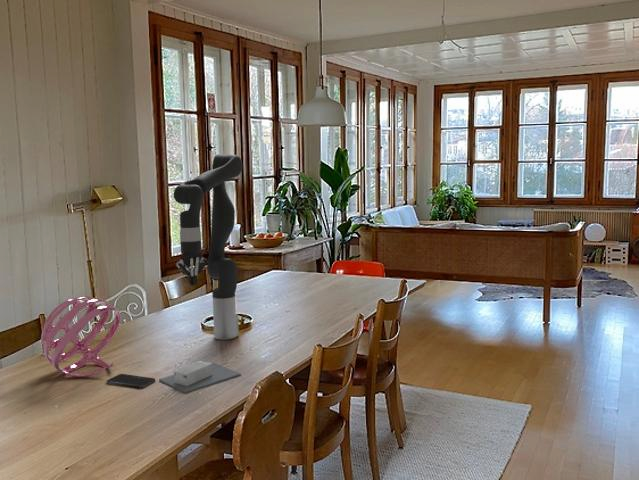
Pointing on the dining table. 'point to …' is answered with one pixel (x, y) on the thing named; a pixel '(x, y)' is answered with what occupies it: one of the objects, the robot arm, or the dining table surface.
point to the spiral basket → (72, 333)
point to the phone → (131, 381)
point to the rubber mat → (217, 376)
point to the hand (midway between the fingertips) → (192, 285)
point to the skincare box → (193, 373)
